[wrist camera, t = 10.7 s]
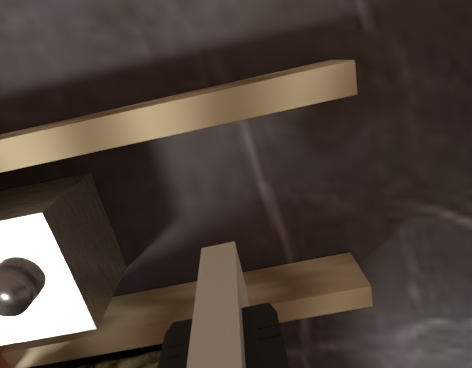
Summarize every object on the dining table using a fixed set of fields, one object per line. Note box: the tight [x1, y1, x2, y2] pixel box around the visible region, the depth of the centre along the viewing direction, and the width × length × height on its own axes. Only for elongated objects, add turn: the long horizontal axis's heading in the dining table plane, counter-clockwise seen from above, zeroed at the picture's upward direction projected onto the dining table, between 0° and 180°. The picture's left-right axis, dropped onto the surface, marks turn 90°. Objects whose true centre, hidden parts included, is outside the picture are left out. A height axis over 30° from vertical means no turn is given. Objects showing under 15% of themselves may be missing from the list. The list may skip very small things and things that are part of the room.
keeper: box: [0, 173, 127, 345], centre depth 18 cm, size 6×7×6 cm
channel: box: [0, 60, 373, 368], centre depth 18 cm, size 25×14×6 cm, turn 102°
